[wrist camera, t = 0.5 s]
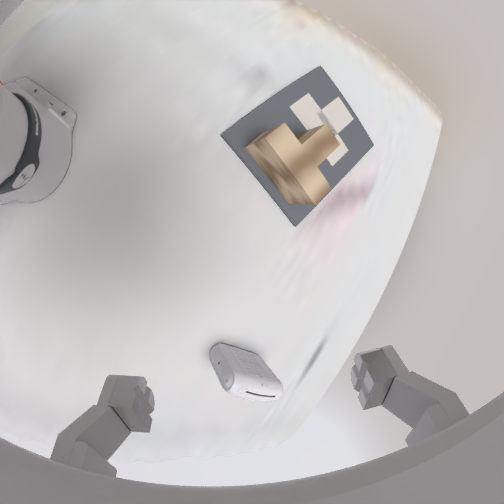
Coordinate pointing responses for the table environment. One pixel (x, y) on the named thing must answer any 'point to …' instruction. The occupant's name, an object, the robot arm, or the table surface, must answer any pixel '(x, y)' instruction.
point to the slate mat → (301, 119)
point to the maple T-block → (295, 161)
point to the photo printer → (245, 374)
